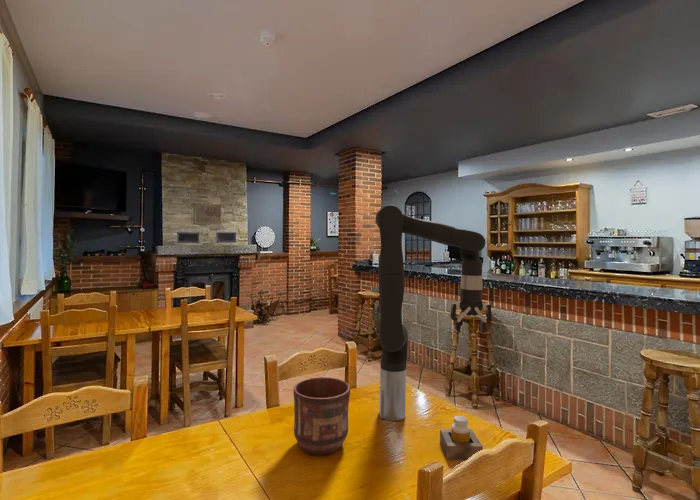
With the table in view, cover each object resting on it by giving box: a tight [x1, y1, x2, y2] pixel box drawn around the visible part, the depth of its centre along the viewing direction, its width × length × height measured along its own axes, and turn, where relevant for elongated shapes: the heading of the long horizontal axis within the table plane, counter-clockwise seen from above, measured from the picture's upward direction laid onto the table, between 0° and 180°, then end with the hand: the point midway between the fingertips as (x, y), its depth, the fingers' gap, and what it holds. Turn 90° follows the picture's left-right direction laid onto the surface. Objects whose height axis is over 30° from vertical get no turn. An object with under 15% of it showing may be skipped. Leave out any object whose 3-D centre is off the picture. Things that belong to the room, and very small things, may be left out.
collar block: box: [439, 428, 484, 461], centre depth 117 cm, size 10×10×4 cm
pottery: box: [293, 376, 351, 456], centre depth 119 cm, size 18×18×18 cm
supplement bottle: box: [450, 415, 471, 443], centre depth 117 cm, size 5×5×10 cm
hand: (470, 332), depth 142 cm, fingers open, 8 cm apart
